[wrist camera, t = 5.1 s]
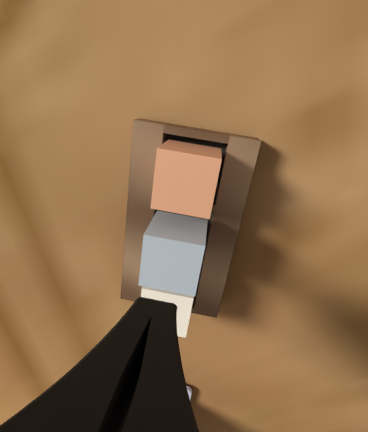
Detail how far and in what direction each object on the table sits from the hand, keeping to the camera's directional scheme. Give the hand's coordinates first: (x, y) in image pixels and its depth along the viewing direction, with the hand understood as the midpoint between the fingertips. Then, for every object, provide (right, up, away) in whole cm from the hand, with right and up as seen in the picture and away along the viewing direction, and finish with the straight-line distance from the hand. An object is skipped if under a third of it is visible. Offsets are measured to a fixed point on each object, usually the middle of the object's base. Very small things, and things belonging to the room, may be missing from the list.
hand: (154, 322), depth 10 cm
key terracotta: (+1, +6, +5) cm, 8 cm away
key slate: (+1, +3, +6) cm, 6 cm away
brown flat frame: (+1, +3, +8) cm, 8 cm away
